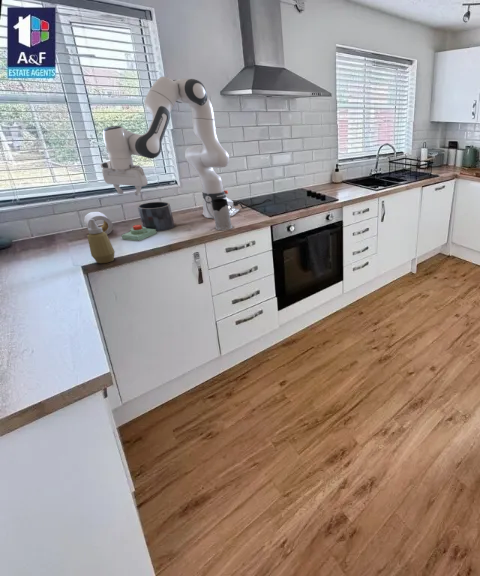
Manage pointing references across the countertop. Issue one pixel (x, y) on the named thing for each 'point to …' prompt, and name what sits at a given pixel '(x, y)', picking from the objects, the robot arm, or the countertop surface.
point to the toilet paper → (96, 216)
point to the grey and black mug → (221, 214)
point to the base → (138, 234)
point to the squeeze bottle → (99, 244)
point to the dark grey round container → (156, 215)
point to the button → (137, 227)
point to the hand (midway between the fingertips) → (129, 194)
